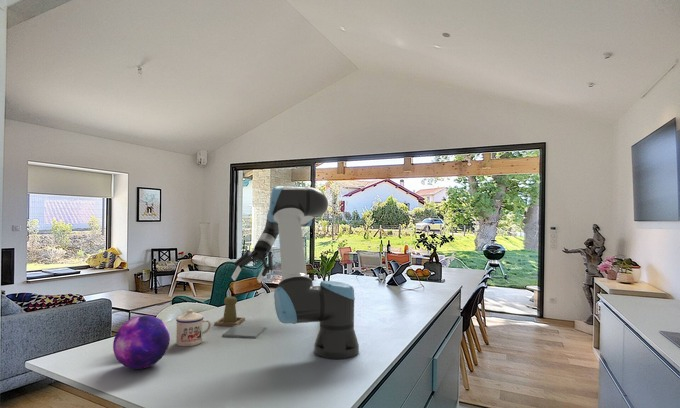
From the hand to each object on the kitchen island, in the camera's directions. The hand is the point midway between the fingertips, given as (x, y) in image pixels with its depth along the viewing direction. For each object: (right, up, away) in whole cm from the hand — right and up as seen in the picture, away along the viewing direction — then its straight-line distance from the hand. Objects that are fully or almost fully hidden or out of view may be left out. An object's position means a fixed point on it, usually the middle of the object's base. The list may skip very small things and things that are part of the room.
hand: (245, 280), depth 173 cm
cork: (-4, -16, -10) cm, 20 cm away
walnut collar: (-4, -16, -10) cm, 20 cm away
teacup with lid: (-10, -15, -36) cm, 40 cm away
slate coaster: (+5, -16, -23) cm, 29 cm away
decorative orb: (-16, -14, -59) cm, 63 cm away
